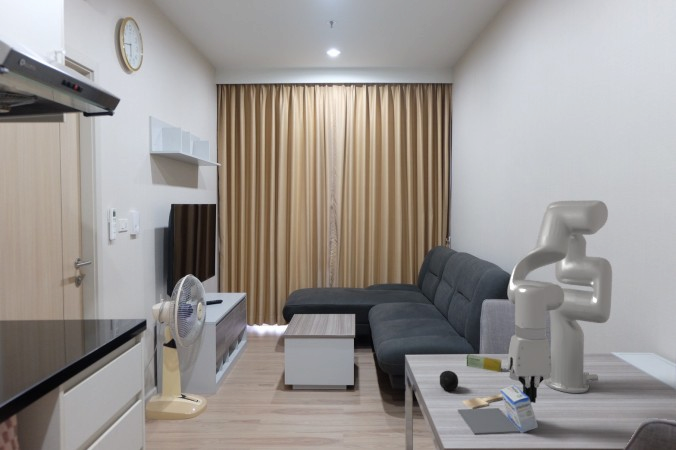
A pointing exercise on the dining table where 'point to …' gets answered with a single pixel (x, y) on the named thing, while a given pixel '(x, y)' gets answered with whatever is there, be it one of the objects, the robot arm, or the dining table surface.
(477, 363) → the medication box
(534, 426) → the medicine box
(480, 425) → the mat
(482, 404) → the wooden turner
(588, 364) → the dining table surface
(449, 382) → the billiard ball
